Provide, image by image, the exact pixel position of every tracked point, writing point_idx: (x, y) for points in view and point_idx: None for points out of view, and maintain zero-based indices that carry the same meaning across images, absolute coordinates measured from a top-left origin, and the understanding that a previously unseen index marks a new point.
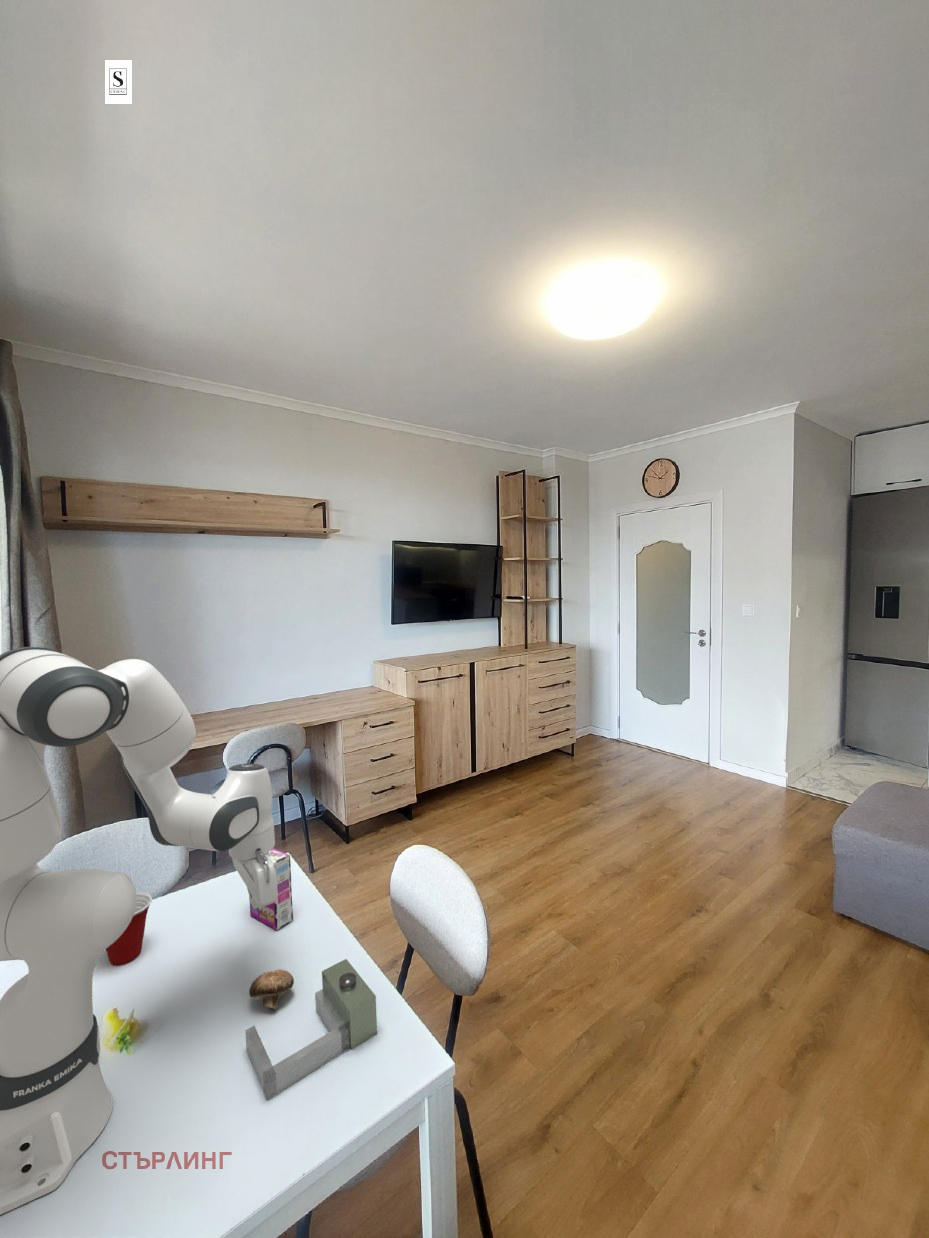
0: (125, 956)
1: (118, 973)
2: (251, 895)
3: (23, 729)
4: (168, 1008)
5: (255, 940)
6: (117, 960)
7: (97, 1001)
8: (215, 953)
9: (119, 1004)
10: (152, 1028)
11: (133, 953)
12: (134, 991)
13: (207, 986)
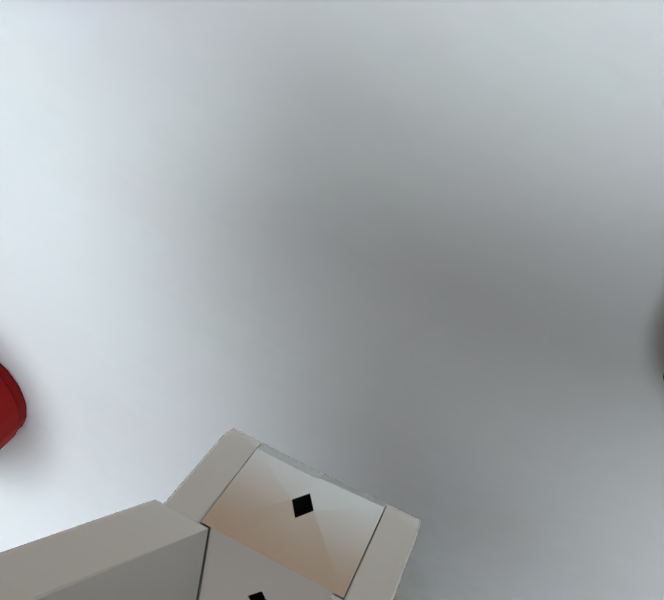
0: (4, 432)
1: (57, 446)
2: (196, 593)
3: None
4: None
5: (237, 48)
6: (6, 442)
7: None
8: (182, 234)
9: None
10: None
11: (2, 410)
12: (173, 484)
13: (361, 386)
